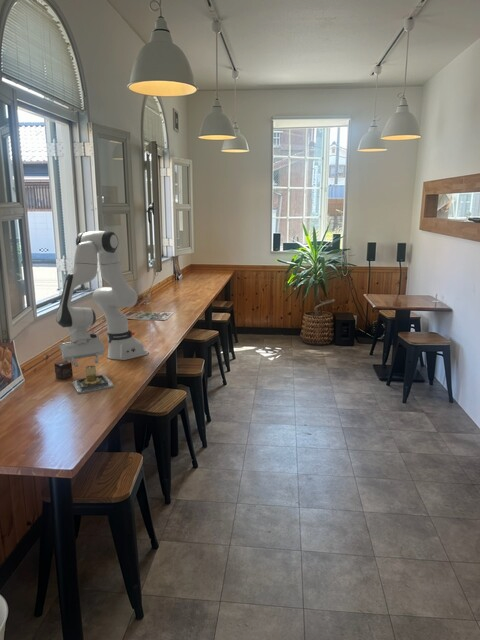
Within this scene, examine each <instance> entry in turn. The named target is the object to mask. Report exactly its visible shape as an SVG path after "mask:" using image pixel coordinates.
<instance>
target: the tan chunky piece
mask: <svg viewBox="0 0 480 640" xmlns="http://www.w3.org/2000/svg"><path fill="white" fill-rule="evenodd" d="M96 368H97V367H96V365H87V366H85V373H86V374H85V375H86V376H85V378H86V379H85V380H84V381H83V382H82V385H85V386H89V385H94V384H99V383H100V382H102V379H101V378H97V376H98V375H97V369H96Z"/></svg>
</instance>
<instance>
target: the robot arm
mask: <svg viewBox="0 0 480 640" xmlns="http://www.w3.org/2000/svg"><path fill="white" fill-rule="evenodd" d="M75 245H76V249H75V254H74V260H73V268H72V271H71V272H70V273H68V274H67V276H66V277H65V280H64V284H63V287H62V293H61V297H60V300H59V301H60V302H59V305H58V309H57V312H56V316H55V320H56V323H57V324H58V325H60V327H62V328H67V329H68V332H69V333H70V334H69V335H70V337H69V338H70V341H67V342H62V343H61V344H60V345H59V351H60V352H61V358H62V361H68V362H69V361H70V362H71V364H73V365H74V367H75V368H78V367H79V363H78V361H76V360H79V359H85V358H91V357H95V358H94V361H93V362H94V364H99V357H100V356H103V355H104V354H105V353H106V347H105V345H104V343H103V341H102V340H101V339H100V336H99V334H98V333H97V334H96V333H90V332H88V330H89V329H90V328H91V327H93V325H94V324H95V323H96V321H97V316H96V313H95V311H94V310H93V309H92V307H83V306H82V307H81V306H80V307H79V306H78V307H77V306H71V305H72V304H71V303H72V300H73V294H74V290H75V289H76V288H77V287H78V286H81V285H84V284H86V283H89V282H92V281H93V280H94V279H96V277H97V274H98V265H99V271H100V276H101V279H102V280H103V281H105V282H106V283H108V284H109V286H101V287H97V288H96V289H94V291H93V293H92V300H93V302H94V304H95V305H96V306H98V308H100V310H101V311H102V313H103V314H104V317H105V321H106V327H107V333H106V336H107V343H108V348H107V349H108V351H107V357H106V358H108V359H109V360H120V361H126V360H130V359H135V358H139V357H143V356H146V355H147V356H148V355H149V350H148V349H146V348H144V347H145V346H144V344H143V342H142V341H140V340H139V339H137V338H136V337H135V336H134V335H136V333H135V332H134V331H133V330H130V329H129V322H128V321H129V320H128V316H127V315H126V314H125V313H124V312H122V311H121V310H120V308H130V307H134V306H135V305H136V304H137V303H138V299H139V298H138V293H137V291H136V290H135V289H134V288H133V287H132V286H130V284H128V282H127V280H126V279H125V277H124V274H123V273H124V272H123V270H122V269H123V268H122V263H121V257H120V253H119V249H118V246H119V238H118V236H117V234H116V233H115V232H113V231H110V230H106V231H105V230H92V231H91V230H90V231H83V232H79V233H78V235H77V236H76V238H75Z"/></svg>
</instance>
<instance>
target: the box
mask: <svg viewBox="0 0 480 640" xmlns="http://www.w3.org/2000/svg"><path fill="white" fill-rule="evenodd" d="M72 364H73V363H72V362H71V361H69V360H68V361H64V360H61V361H59V362H54V364H53V365H54V372H55V373H54V374H55V377H56V378H57V379H60V380H65V379H67V378H70V377H73V376H74V375H73V373H74V372H73V365H72Z"/></svg>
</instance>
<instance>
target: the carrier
mask: <svg viewBox="0 0 480 640" xmlns="http://www.w3.org/2000/svg"><path fill="white" fill-rule="evenodd" d="M96 376H97V378H101V379H102V382H100V383H99V384H94V385H89V386H85V385H82V382H83V381H84V380H85V379H86V378H87V377H83V378H79V379H76V380H74V381H71V384H72V386H73V388H74V390H75V391H76V393H77V395H82V394H85V393H91V392H96V391H102V390H106V389H112V388H115V385H114V383H113V382H112V381H111V380H110V379H109V377H107V375H103V374H100V375H99V374H98V375H96Z"/></svg>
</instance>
